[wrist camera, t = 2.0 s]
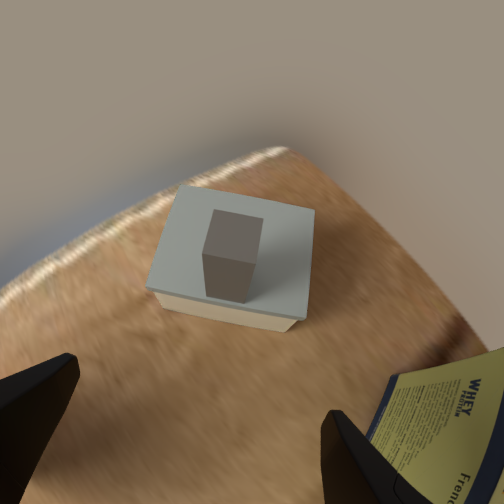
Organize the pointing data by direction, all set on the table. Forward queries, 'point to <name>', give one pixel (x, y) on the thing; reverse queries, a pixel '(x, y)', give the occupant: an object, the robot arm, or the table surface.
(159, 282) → the carton lid
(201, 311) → the carton
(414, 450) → the protein box
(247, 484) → the table surface
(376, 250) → the table surface
